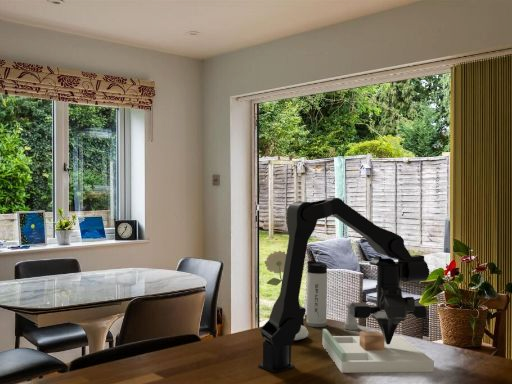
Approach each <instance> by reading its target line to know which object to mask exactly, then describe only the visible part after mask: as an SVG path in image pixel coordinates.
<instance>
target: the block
mask: <svg viewBox="0 0 512 384" xmlns="http://www.w3.org/2000/svg"><path fill="white" fill-rule="evenodd" d="M359 336H360V346H361V347H362V348H363V349H364V350H384V342H385V336H384V335H383V334H382V332H380V331H378V330H377V331H375V330H373V331H372V330H371V331H370V330H368V331H367V330H366V331H363V330H362V331H359Z"/></svg>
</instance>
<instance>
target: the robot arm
mask: <svg viewBox="0 0 512 384" xmlns="http://www.w3.org/2000/svg"><path fill="white" fill-rule="evenodd" d="M331 216H332V217H334V218H336V219H337V220H339V221H340V222H341V223H343V224H344V225H346V226H347V227H349V228H350V229H351V230H353V231H355V233H357V234H359V235H360V236H361V237H363V238H364V239H365V241H366V242H367V243H368V245H369V246H370V248H372V250H374V251H375V252H376V254H379V255H375V256H374V257H373V258H372V259H371V260H370V261H369V265H371V266H375V267H376V268H377V269H376V285H375V289H376V300H375V305H376V306H375V305H374V306H373V305H372V306H370V305H369V304H367V303H366V302H355V303H354V302H353V303H352V302H351V303H352V304H351V305H350V314H351V315H352V316H353V317H355V318H356V319H368V318H369V317H370V316H371V318H372V319H374V320H375V321H376V322H377V324H378V326H379V329H380V331H381V334H382V335H384V336H385V342H386V344H390V342H391V340H392V337H393V336H395V335H394V334H395V331H396V329H397V328H398V326H399V324H400V323H401V322H405V321H406V318H407V315H409V314H410V315H411V314H412V315H413V316H414V318H416V319H417V318H418V319H419V318H420V319H423V318H425V319H427V318H428V316H429V315H428V314H429V312H428V308H427V306H425V305H424V304H423V303H420V302H416V300H415V297H414V296H405V297H403V293H402V292H403V291H402V288H401V282H404V283H411V282H413V283H414V282H426V281H427V280H428V278H429V275H430V268H429V266H428V263H427V262H426V260H425V256H424V255H422V254H414V255H411V253H410V252H409V250H408V249H407V247H406V245H405V240H404V238H403V236H401V235H400V234H397V233H395V232H392V231H391V230H388V229H385V228H383V227H380V226H378V225H376V224H375V223H374V222H372V221H371V220H370V219H368V218H367V217H365V216H363V215H362V214H361V213H359V212H358V211H356V210H355V209H354V208H353V207H351V206H350V205H348V204H347V203H346V202H344V200H342V198H339V197H327V198H326V199H321V200H315V201H294V202H292V203H291V204H289V205H288V207H287V209H286V227H287V233H288V242H287V243H288V244H287V248H286V253H285V254H286V260H285V266H284V272H282V273H283V274H282V277H281V279H282V281H281V286H280V292H279V295H278V297H277V299H276V300H275V302H274V303H273V306H272V309H271V311H270V315H269V319H268V320H267V321H266V322H265V324H263V326H262V327H261V328H260V329H259V333H260V335H261V338H263V339H264V341H263V342H262V362H261V363H258V364H257V367H258V368H261V369H264V370H268V371H270V372H273V373H278V374H279V373H281V372H284V371H285V372H286V371H287V370H291V369H294V368H296V364H293V363H291V362H292V346H293V343H294V341H295V340H294V339H295V336H296V334H297V333H299V331H300V329H301V325H302V326H305V323H304V318H305V315H306V313H307V308H306V307H304V306H301V304H300V297H299V296H300V292H301V286H302V280H303V274H304V268H305V261H306V255H307V249H308V243H309V239H310V238H311V236H312V235H313V233H314V231H315V229H316V226H317V223H318V221H319V220H321V219H326V218H328V217H331ZM380 255H382V256H387V257H385V258H383V257H382V256H380ZM395 260H397V261H395Z"/></svg>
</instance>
